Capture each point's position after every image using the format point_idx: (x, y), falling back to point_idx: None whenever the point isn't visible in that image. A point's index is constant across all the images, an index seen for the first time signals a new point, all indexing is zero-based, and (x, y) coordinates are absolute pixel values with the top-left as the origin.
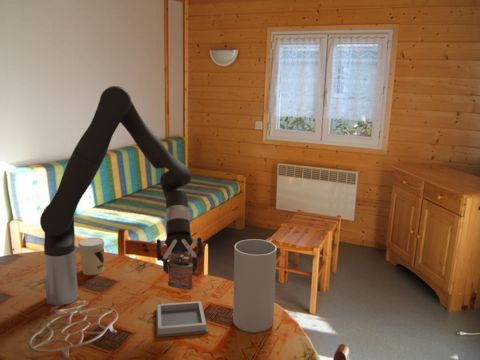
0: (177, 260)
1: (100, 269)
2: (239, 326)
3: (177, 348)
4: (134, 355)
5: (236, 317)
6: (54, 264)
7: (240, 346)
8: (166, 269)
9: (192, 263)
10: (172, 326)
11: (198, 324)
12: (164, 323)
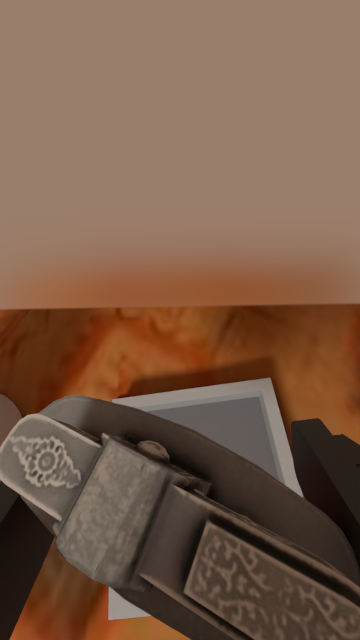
0: (193, 479)
1: None
2: (15, 408)
3: (201, 331)
4: (307, 304)
5: (3, 418)
6: None
7: (46, 339)
8: (317, 427)
9: (11, 507)
10: (223, 389)
11: (136, 400)
12: (261, 455)
